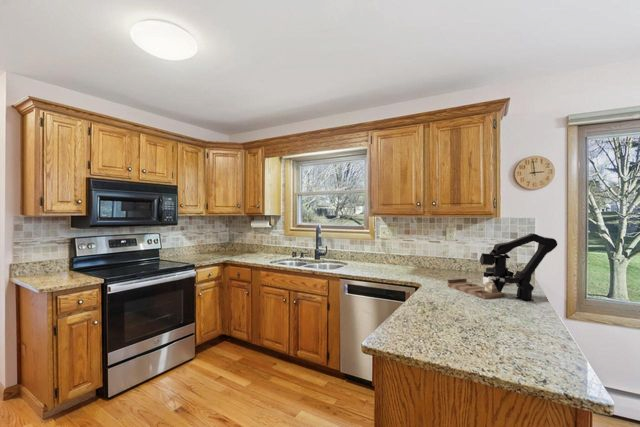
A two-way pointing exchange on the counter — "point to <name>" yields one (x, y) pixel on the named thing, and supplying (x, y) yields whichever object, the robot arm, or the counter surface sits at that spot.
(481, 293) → the trap deck
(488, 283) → the maple cube
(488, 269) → the medicine bottle
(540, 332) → the counter surface
